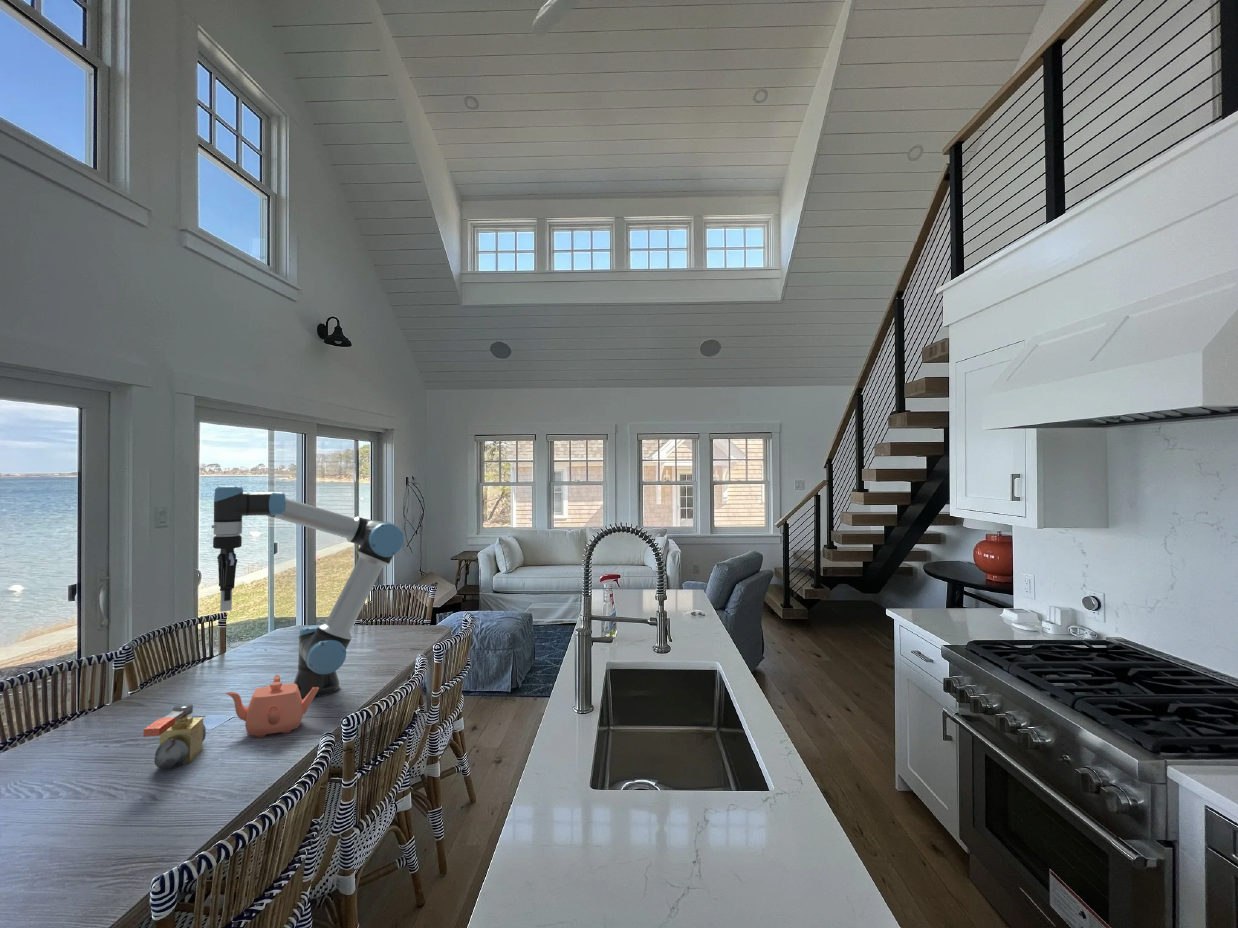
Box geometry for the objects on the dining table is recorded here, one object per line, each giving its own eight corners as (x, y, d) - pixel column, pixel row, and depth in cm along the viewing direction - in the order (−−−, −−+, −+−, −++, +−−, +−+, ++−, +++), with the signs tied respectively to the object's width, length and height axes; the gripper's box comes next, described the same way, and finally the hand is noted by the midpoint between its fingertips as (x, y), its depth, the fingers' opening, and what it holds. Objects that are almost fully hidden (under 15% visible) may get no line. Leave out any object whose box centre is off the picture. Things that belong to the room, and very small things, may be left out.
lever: (178, 710, 163) (178, 704, 163) (195, 709, 164) (196, 703, 164) (141, 736, 147) (141, 729, 147) (161, 735, 148) (161, 728, 148)
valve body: (180, 744, 169) (182, 703, 169) (209, 742, 171) (211, 701, 171) (148, 775, 152) (150, 729, 152) (181, 771, 154) (183, 726, 154)
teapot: (222, 737, 174) (224, 689, 175) (275, 714, 192) (277, 670, 192) (271, 746, 169) (273, 697, 169) (321, 721, 187) (323, 677, 187)
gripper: (208, 534, 190) (206, 609, 189) (218, 537, 181) (217, 615, 180) (235, 533, 195) (234, 605, 194) (247, 535, 186) (245, 612, 185)
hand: (225, 610), depth 187 cm, fingers closed
